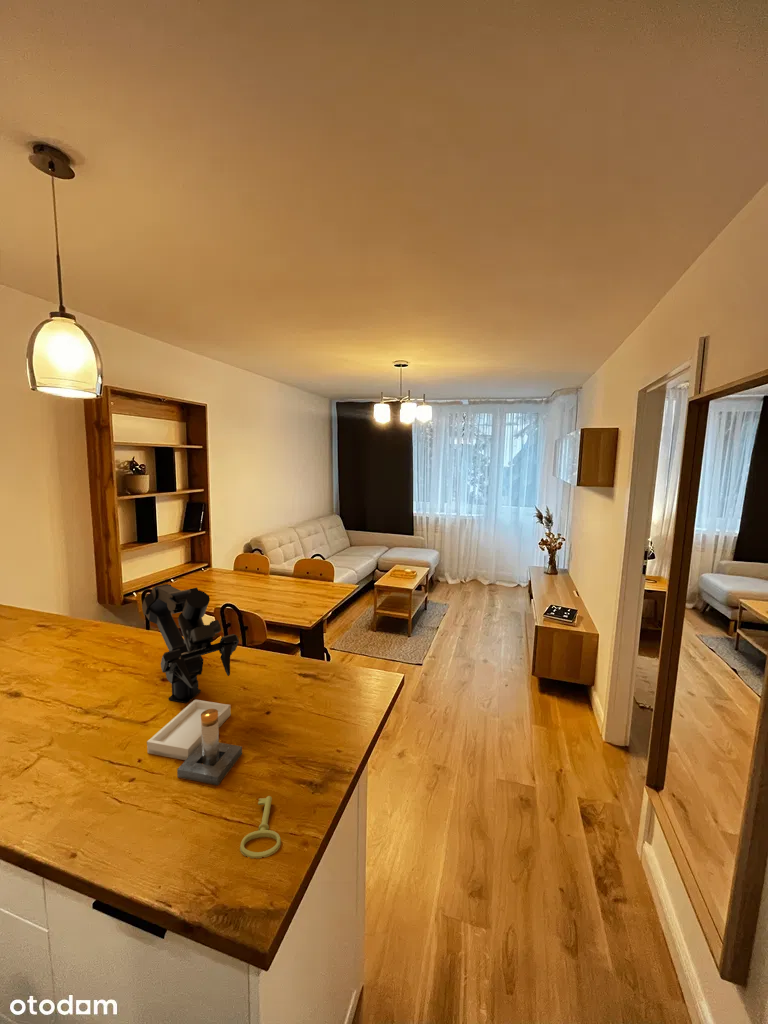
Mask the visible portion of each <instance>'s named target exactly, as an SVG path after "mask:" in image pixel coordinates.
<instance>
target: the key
mask: <svg viewBox="0 0 768 1024" xmlns="http://www.w3.org/2000/svg"><path fill="white" fill-rule="evenodd" d="M272 800H273V797H272V796H271V795H268V796H266V797H263V798H262V797H261V798H258V802H257V805H258V806H262V805H263V806H264V809H263V813H262V819H261V823H260V824H259V826H258V830H255V831H252V832H249V833H248V834H246V835H245V836H244V837H243V838H242V839H241V842H240V846H239V850H240V853H241V854H242V855H243V856H244V857H246V856H247V857H246V858H248V857H250V858H249V859H254V858H256V859H263V858H262V857H264V858H267V857H270V856H272V855H273V854H274V855H275V853H276V852H278V850H279V849H280V847H281V844H282V841H281V837H280V834H279V833H278V832H276V831H275V830H271V829H270V825H269V824H268V822H269V817H270V812H271V806H272ZM259 838H270V839H274V840H276V843H275V845H274V846H272V847H271V848H269V849H267V850H264V851H259V852H258V851H252V850H249V849H247V848H246V847H245V845H246V844H247V843H248V842H249V841H252V840H254V839H259Z"/></svg>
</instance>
